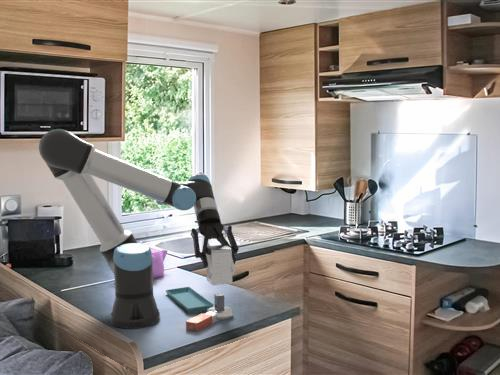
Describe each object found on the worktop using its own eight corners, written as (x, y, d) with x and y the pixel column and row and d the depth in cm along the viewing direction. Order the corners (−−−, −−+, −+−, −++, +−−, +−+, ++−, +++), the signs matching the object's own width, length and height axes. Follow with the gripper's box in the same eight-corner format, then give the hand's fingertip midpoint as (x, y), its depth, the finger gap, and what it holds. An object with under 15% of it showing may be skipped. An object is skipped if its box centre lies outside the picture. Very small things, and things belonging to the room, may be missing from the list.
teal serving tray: (165, 295, 212) (164, 288, 212) (189, 292, 216) (189, 285, 216) (188, 316, 189) (187, 308, 188) (214, 311, 192) (214, 304, 192)
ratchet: (202, 332, 172) (201, 309, 171) (180, 328, 176) (180, 305, 175) (237, 314, 188) (236, 293, 187) (216, 310, 192) (215, 290, 191)
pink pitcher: (116, 282, 231) (115, 251, 230) (128, 271, 248) (127, 242, 246) (159, 282, 230) (158, 251, 228) (168, 271, 246) (167, 242, 245)
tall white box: (212, 285, 181) (211, 250, 180) (206, 280, 188) (205, 246, 186) (232, 283, 184) (231, 248, 182) (226, 278, 190) (225, 244, 189)
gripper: (233, 219, 201) (249, 276, 188) (177, 223, 195) (189, 283, 181) (237, 205, 196) (254, 264, 182) (179, 209, 189) (193, 270, 176)
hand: (222, 273), depth 182 cm, fingers closed on tall white box, 6 cm apart
